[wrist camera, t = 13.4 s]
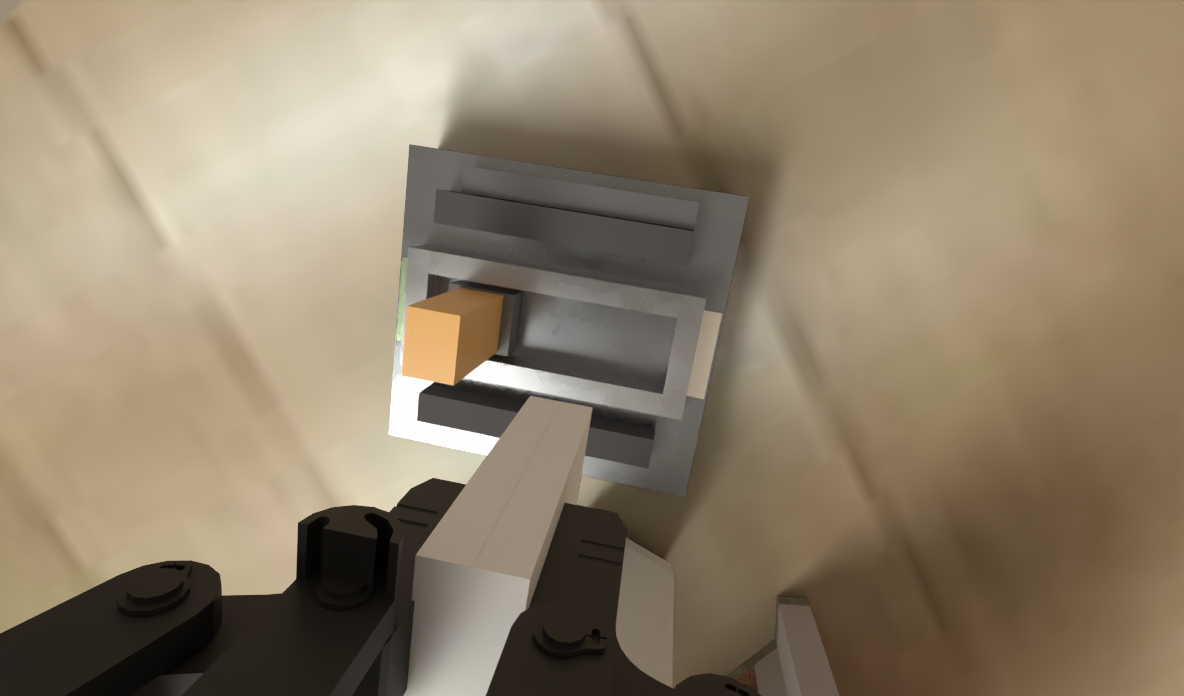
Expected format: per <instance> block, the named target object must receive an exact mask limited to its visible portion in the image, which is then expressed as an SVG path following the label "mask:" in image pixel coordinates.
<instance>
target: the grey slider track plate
mask: <svg viewBox="0 0 1184 696" xmlns="http://www.w3.org/2000/svg"><path fill="white" fill-rule="evenodd" d="M462 192H464V193H461V192H454V191H448V190H436V199H435V211H434V223H438V224H444V225H449V226H455V227H461V228H467V229H473V230H479V231H485V232H491V233H497V234H503V235H509V236H515V237H521V238H527V239H532V240H538V241H544V242H550V243H556V244H562V245H568V246H574V247H580V248H586V249H592V250H598V251H604V252H610V253H615V254H621V255H627V256H633V257H639V258H645V259H651V260H657V261H663V262H669V263H675V264H681V265H687V266H688V262H689V256H690V251H691V246H692V241H693V236H694V230H695V225H696V219H697V214H698V209H699V204H700V203H699V202H693V201H687V200H680V199H674V198H668V197H661V196H655V195H648V194H642V193H636V192H629V191H623V190H617V189H610V188H604V187H597V186H591V185H585V184H578V183H572V182H566V181H559V180H553V179H547V178H540V177H534V176H527V175H521V174H515V173H508V172H502V171H496V170H489V169H483V168H476V167H470V166H464V171H463V181H462ZM467 193H470V194H467ZM473 194H476V195H473ZM479 195H482V196H479ZM485 196H488V197H485ZM491 197H494V198H491ZM498 198H501V199H498ZM504 199H507V200H504ZM510 200H513V201H510ZM516 201H519V202H516ZM522 202H525V203H522ZM528 203H531V204H528ZM535 204H538V205H535ZM541 205H544V206H541ZM547 206H550V207H547ZM553 207H556V208H553ZM559 208H562V209H559ZM565 209H568V210H565ZM572 210H575V211H572ZM578 211H581V212H578ZM584 212H587V213H584ZM590 213H593V214H590ZM596 214H599V215H596ZM602 215H606V216H602ZM609 216H612V217H609ZM615 217H618V218H615ZM621 218H624V219H621ZM627 219H630V220H627ZM633 220H636V221H633ZM639 221H643V222H639ZM646 222H649V223H646ZM652 223H655V224H652ZM658 224H661V225H658ZM664 225H667V226H664ZM670 226H673V227H670ZM677 227H680V228H677ZM683 228H686V229H683ZM689 229H692V230H689ZM524 404H525V403H523V402H518V401H513V400H508V399H503V398H498V397H493V396H488V395H483V394H478V393H473V392H468V391H463V390H458V389H453V388H448V387H443V386H438V385H433V384H431V385H430V386H428V387H427V388H425V389H424V390H422V391H421V392H420V393H419V400H418V412H417V421H420V422H425V423H430V424H435V425H439V426H444V427H449V428H454V429H459V430H464V431H468V432H473V433H478V434H483V435H488V436H493V437H497V438H500V437H501V436H502V434H503V433H504V432H505V430H506V429H507V427H508V426H509V425H510V423H511V422H512V420H513V419H514V418H515V416H516V415H517V413H518V412H519V411H520V409H521V408H522V406H523V405H524ZM654 435H655V429H654V428H649V427H644V426H638V425H633V424H628V423H623V422H618V421H613V420H608V419H603V418H598V417H593V416H591V421H590V427H589V433H588V439H587V445H586V451H585V456H589V457H594V458H599V459H604V460H608V461H613V462H618V463H623V464H628V465H633V466H637V467H642V468H647V469H648V468H649V463H650V457H651V452H652V447H653V442H654Z"/></svg>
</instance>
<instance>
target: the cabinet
mask: <svg viewBox="0 0 1184 696" xmlns="http://www.w3.org/2000/svg"><path fill="white" fill-rule="evenodd" d="M726 677H731V678H733V679H735V680H737V681H739V682H741V683H744V684H746V685H748V686H750V687H752V688H753V689H754V690H756V691H757V692H758V693H759V694H760V695H762V696H839V693H838V689H837V686H836V683H835V680H834V677H833V674H832V671H831V668H830V665H829V662H828V659H827V656H826V653H825V650H824V647H823V644H822V640H821V637H820V634H819V631H818V628H817V625H816V622H815V619H814V616H813V613H812V610H811V607H810V604H809V601H808V598H799V597H782V596H777V607H776V633H775V639H774V640H773V641H772V642H771V643H769V644H768V645H767V646H765V647H764V648H763V649H761V650H760V651H759V652H757V653H756V654H755V655H753V656H752V657H751V658H750V659H748V660H747V661H746V662H744V663H743V664H742V665H740V666H739V667H738V668H736V669H735V670H734V671H733V672H731V673H730V674H729V675H727V676H726Z"/></svg>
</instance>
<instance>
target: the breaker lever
mask: <svg viewBox="0 0 1184 696" xmlns="http://www.w3.org/2000/svg"><path fill="white" fill-rule="evenodd" d="M521 297H522V291H517V290H511V289H505V288H500V287H494V286H489V285H483V284H477V283H472V282H466V281H461V280H459V281H455V282H452V283H449V292H446V293H443V294H440V295H437V296H434V297H431V298H428V299H425V300H423V301H420V302H417V303H414V304H411V305H408V306H407V310H406V323H405V336H404V349H403V362H402V375H403V376H408V377H413V378H418V379H423V380H428V381H433V382H438V383H443V384H448V385H453V386H454V385H455V384H456V383H458V382H459V381H460V380H461V379H463V378H464V377H465V376H467V375H468V374H469V373H471V372H472V371H473V370H475V369H476V368H477V367H478V366H480V365H481V364H482V363H484V362H485V361H486V360H488V359H489V358H490V357H491V356H493V355H494V354H497V355H503V356H509V355H510V354H511V353H512V352H513V351H515V345H516V337H517V329H518V321H519V313H520V305H521Z"/></svg>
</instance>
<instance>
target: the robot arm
mask: <svg viewBox="0 0 1184 696" xmlns="http://www.w3.org/2000/svg"><path fill="white" fill-rule="evenodd" d="M592 408H593V407H587V406H582V405H577V404H571V403H566V402H561V401H555V400H550V399H545V398H540V397H534V396H530V397H529V398H528V400H527V401H526V402H525V404H524V405H523V406H522V408H521V409H520V411H519V412H518V413H517V415H516V416H515V418H514V419H513V420H512V422H511V423H510V425H509V426H508V427H507V429H506V430H505V432H504V433H503V434H502V436H501V437H500V438H499V440H498V441H497V443H496V444H495V445H494V447H493V448H492V450H491V451H490V452H489V454H488V455H487V457H486V458H485V459H484V461H483V462H482V464H481V465H480V466H479V468H478V469H477V470H476V472H475V473H474V475H473V476H472V477H471V479H470V480H469V482H468V483H467V484H466V485H465V484H460V483H455V482H450V481H445V480H440V479H435V478H432V479H430V480H428V481H426V482H424V483H422V484H420V485H417V486H415V487H413V488H411V489H410V490H409V491H408V492H407V494H406V495H405V496H404V497H403V498H402V499H401V500H400V501H399V502H398V504H397V507H394V508H393V509H392V510H391V511H390V512H386V511H383V510H380V509H377V508H375V507H367V506H356V505H352V506H342V507H333V508H329V509H326V510H323V511H320V512H316V513H313V514H312V515H310V516H308V517H307V518H305V519H304V520H302V521H300V522H299V523H298V544H297V575H296V580H295V581H294V582H293V583H292V584H291V585H290V586H289V587H288V588H287V589H286V590H285V591H284V592H283V593H282V594H270V595H231V596H222V592H221V580H220V574H219V573H218V572H216V571H215V570H214V569H213V568H212V567H210V566H209V565H206V564H202V563H198V562H194V561H165V562H160V563H155V564H150V565H145V566H141V567H139V568H136V569H133V570H131V571H128V572H126V573H123V574H120V575H118V576H116V577H114V578H112V579H110V580H108V581H106V582H104V583H102V584H100V585H98V586H96V587H94V588H92V589H90V590H88V591H86V592H84V593H82V594H80V595H78V596H76V597H73V598H71V599H69V600H67V601H65V602H63V603H61V604H59V605H57V606H55V607H53V608H51V609H49V610H47V611H45V612H43V613H41V614H39V615H37V616H35V617H33V618H31V619H29V620H27V621H25V622H23V623H21V624H19V625H17V626H15V627H13V628H11V629H9V630H7V631H5V632H3V633H1V634H0V696H762V695H760V694H759V693H758V692H757V691H756V690H754V689H753V688H752V687H750V686H748V685H746V684H744V683H741V682H739V681H737V680H735V679H733V678H731V677H726V676H721V675H716V674H710V673H709V674H702V675H695V676H690V677H689V678H687V679H685V680H684V681H682V682H681V683H679V684H678V685H676V687H675V689H673V688H671V687H669V686H667V685H665V684H663V683H661V682H659V681H657V680H656V679H654V678H652V677H651V676H649V675H647V674H646V673H644V672H643V671H641V670H640V669H639V668H638V667H637V666H635V665H634V664H633V663H632V662H631V661H630V660H629V659H628V657H627V656H626V655H625V653H624V652H623V650H622V649H621V647H620V645H619V642H618V639H617V637H616V619H617V610H618V602H619V593H620V585H621V576H622V568H623V567H622V566H623V559H624V550H625V543H626V534H627V530H626V528H625V526H624V524H623V523H622V521H621V519H620V517H619V515H618V513H613V512H608V511H603V510H599V509H594V508H589V507H584V506H579V505H577V500H578V494H579V488H580V482H581V476H582V469H583V463H584V457H585V451H586V445H587V439H588V433H589V427H590V421H591V414H592Z"/></svg>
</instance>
